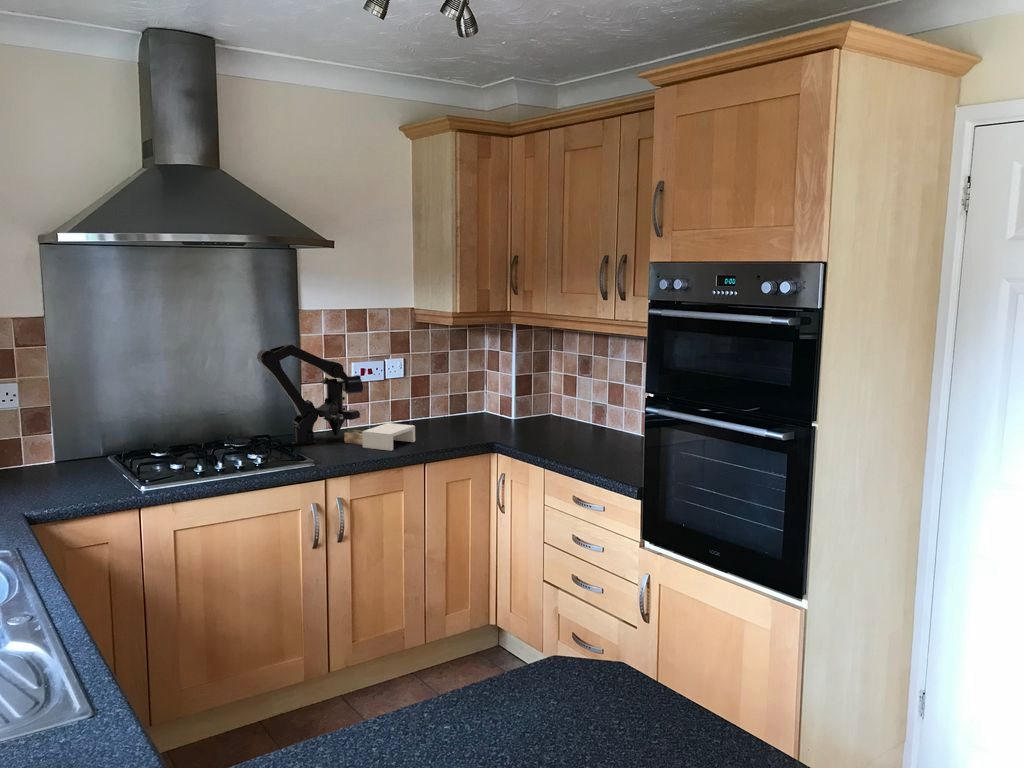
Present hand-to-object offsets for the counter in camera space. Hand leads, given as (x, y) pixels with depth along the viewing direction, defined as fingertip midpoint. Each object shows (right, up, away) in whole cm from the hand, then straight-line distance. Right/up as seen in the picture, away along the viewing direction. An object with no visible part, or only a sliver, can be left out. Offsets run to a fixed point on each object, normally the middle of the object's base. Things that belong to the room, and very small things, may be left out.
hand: (336, 435), depth 315 cm
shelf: (+21, -3, -8) cm, 23 cm away
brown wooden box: (+10, -3, -4) cm, 11 cm away
